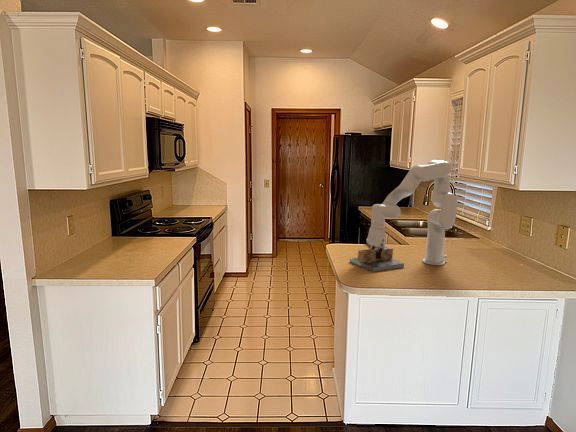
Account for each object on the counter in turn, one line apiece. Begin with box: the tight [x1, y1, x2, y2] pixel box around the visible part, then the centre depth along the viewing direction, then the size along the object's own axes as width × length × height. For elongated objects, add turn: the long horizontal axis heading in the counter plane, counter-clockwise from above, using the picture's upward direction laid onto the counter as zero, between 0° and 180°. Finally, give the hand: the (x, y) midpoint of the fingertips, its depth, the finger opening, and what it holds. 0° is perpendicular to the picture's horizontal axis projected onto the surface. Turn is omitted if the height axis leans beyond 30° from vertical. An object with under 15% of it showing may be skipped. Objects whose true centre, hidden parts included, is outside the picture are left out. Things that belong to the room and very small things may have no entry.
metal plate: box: [361, 258, 405, 273], centre depth 229 cm, size 22×10×2 cm, turn 118°
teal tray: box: [349, 257, 387, 268], centre depth 238 cm, size 22×10×2 cm, turn 118°
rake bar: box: [357, 246, 394, 263], centre depth 234 cm, size 22×4×6 cm, turn 118°
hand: (375, 257), depth 234 cm, fingers closed on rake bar, 4 cm apart
